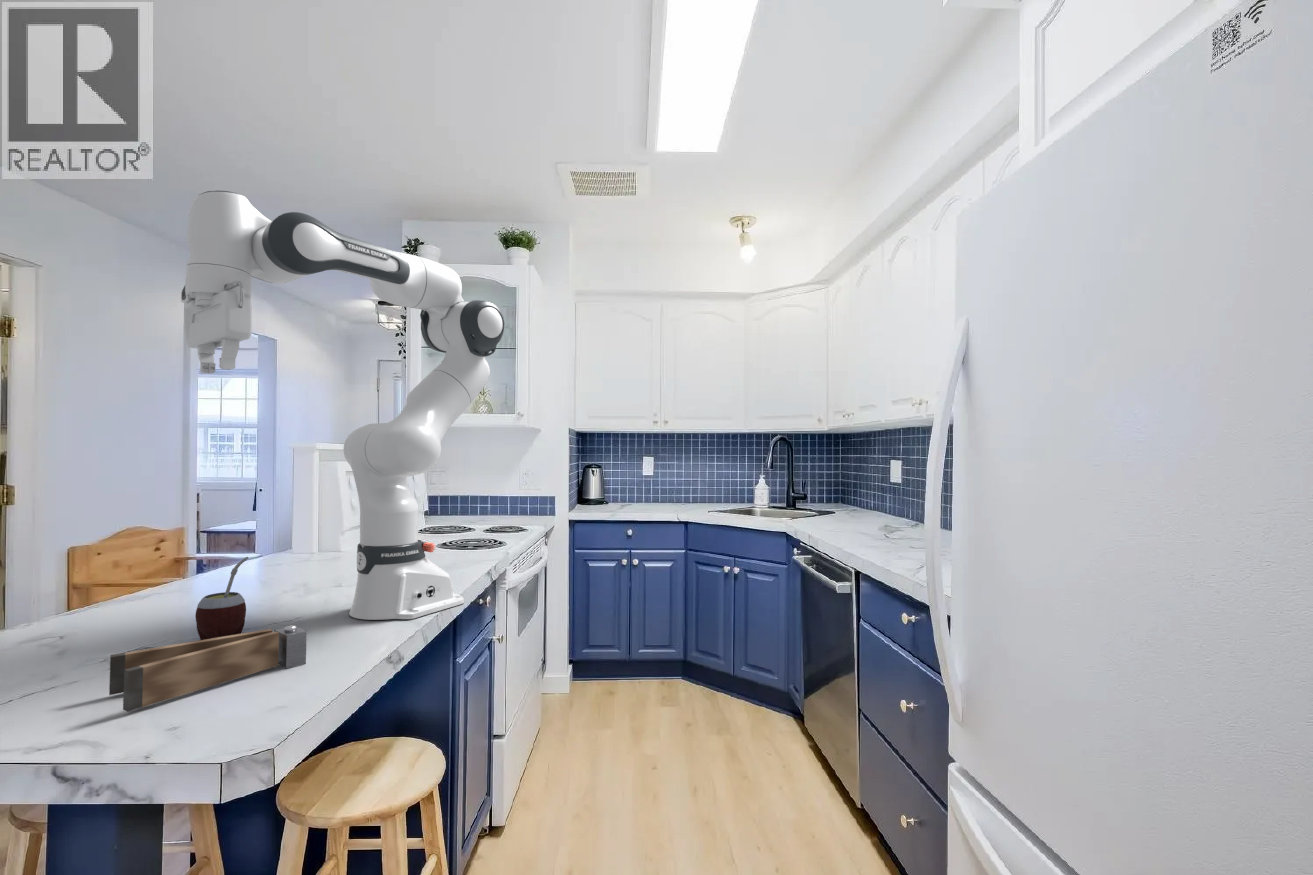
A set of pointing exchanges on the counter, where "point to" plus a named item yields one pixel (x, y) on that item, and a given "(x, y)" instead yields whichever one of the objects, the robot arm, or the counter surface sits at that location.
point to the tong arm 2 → (198, 670)
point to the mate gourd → (221, 612)
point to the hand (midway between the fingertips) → (217, 371)
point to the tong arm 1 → (164, 655)
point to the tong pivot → (291, 646)
